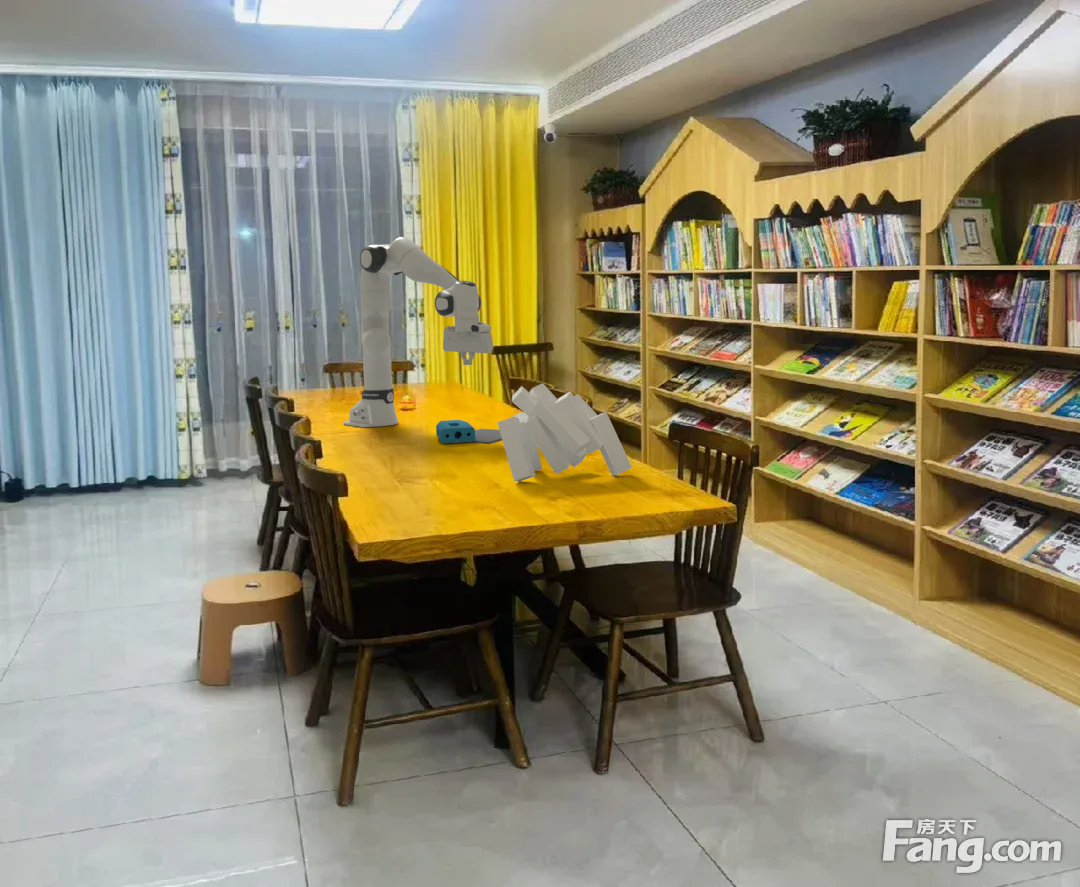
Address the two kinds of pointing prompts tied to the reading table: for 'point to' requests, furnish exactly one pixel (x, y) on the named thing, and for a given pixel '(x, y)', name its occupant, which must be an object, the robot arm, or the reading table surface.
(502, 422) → the pile of blocks
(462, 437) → the block
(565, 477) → the reading table surface
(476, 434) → the mat
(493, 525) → the reading table surface
